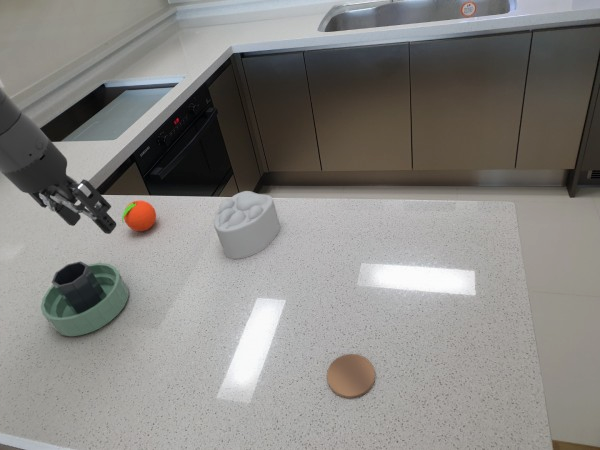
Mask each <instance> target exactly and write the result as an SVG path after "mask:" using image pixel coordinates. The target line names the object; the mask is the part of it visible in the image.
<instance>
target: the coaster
mask: <svg viewBox="0 0 600 450" xmlns="http://www.w3.org/2000/svg"><path fill="white" fill-rule="evenodd" d="M326 373H327V374H326V380H327V384H328V386H329V388H330V389H331V391H332V392H333V393H334V394H336V395H338V396H339V397H340V398H341V397H342V398H346V399H357V398H361V397H363V396H364V395H366V394H367V393H369V391H371V389H372V388H373V386H374V384H375V382H376V381H375V380H376V371H375V368H374V365H373V364H372V362H371V361H370V360H368V359H367V358H366V357H365V356H362V355H361V354H356V353H355V354H353V353H351V354H350V353H349V354H344V355H341V356H339V357H337V358H336V359H334V360H333V361H332V362H331V364H330V365H329V367H328V369H327V372H326Z"/></svg>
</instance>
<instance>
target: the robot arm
mask: <svg viewBox="0 0 600 450" xmlns="http://www.w3.org/2000/svg"><path fill="white" fill-rule="evenodd" d="M67 167H68V159H67V158H66V157H65V155H64V154H63V153H62V152H61V150H60V149H59V148H58V147H57V146H56V145H55V144H54V143H53V142H52V140H51V139H50V138H49V137H48V136H47V135H46V134H45V132H43V130H42V129H41V128H40V127H39V126H38V125H37V124H36V123H35V122H34V121H33V120H32V119H31V118H30V117H29V116H28V115H26V114H25V113H24V112H23V111H22V110H21V109H20V107H19V106H18V105H17V104H16V103H15V102H14V101H13V100H12V99H11V97H9V96H8V94H7V93H6V92H5V91H4V90H3V89H2V87H0V173H1V174H2V175H3V176H4V177H6V179H8V181H10V183H12V184H13V185H14V187H16V188H17V189H18V190H19V191H21V192H22V193H25V194H28V195H29V196H30V197H31V198H32V199H33V200H34V201H35V202H36V203H37V204H38V205H39V206H40V207H41V208H44V209H46V208H48V209H49V210H50V211H51V212H52V213H56V214H57V215H58V216H59V217H60V218H61V219H62V220H63V221H64V222H65V223H66V224H68V225H69V226H72V227H74V226H75V225H76V224H77V223H78V222H79V221H80V220H81V214H83V215H85V216H86V217H87V218H89V219H90V220H91V221H93V223H94V224H95V225H96V226H97V227H98V228H99V229H100V230H101V231H102V232H103V233H104V234H106V235H110V234H111V233H112V232H113V231H114V230H115V228H116V227H117V222H116V221H115V220H114V219H113V217H111V215H110V214H108V212H109V210H110V209H111V208H112V204H110V203H109V202H108V201H107V200H106V199H105V197H104V196H103V195H102V194H101V193H100V192H99V191H98V190H97V189H96V188H95V187H94V185H92V183H91V182H89V181H88V180H87V179H82V180H81V181H80V182H79V183H78V181H77V180H76V179H74V178H73V177H71V176H69V175H67ZM78 201H79V202H80V203H79V204H76V203H78Z"/></svg>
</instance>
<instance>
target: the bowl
mask: <svg viewBox="0 0 600 450" xmlns="http://www.w3.org/2000/svg"><path fill="white" fill-rule="evenodd" d="M87 265H88V266H89V268H90V270H91V271H92V273H93V274H94V276H95V278H96V279H97V281H98V282H99V284H100V285H101V287H102V289H103V290H104V292H105V293H106V295H107V296H106V297H105V298H104V299H103V300H102V301H100V302H99V303H98V304H97V305H95V306H94V307H92V308H90V309H88V310H87V311H85V312H83V313H80V314H77V315H76V314H75V313H73V312H72V310H71V309H70V307H69V306H68V305H67V303H66V302H65V300H64V299H63V298H62V296H61V295H60V293H59V292H58V291H57V289H56V288H55V286H54V285H53V284H51V286H50V287H49V288H48V289H47V290H46V292H45V294H44V295H43V297H42V299H41V304H40V309H41V313H42V315H43V316H44V317H45V319H46V320H47V322H48V323H49V324H50V325H51V326H52V328H53V329H54V330H55V331H56V332H57V333H59V334H60V335H61V336H65V337H79V336H84V335H86V334H89V333H93V332H95V331H97V330H98V329H101V328H102V327H104V326H106V325H107V324H109V323H110V322H111V321H112V320H113V319H115V318H116V317H117V316H118V315H119V314H120V313H121V312H122V310H123V309H124V308H125V306H126V304H127V302H128V299H129V287H128V285H127V284H126V282H125V280H124V279H123V277H122V275H121V274H120V272H119V270H118V269H117V266H114V265H112V264H110V263H106V262H97V263H95V262H94V263H89V264H87Z"/></svg>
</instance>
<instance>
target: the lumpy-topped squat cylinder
mask: <svg viewBox="0 0 600 450" xmlns="http://www.w3.org/2000/svg"><path fill="white" fill-rule="evenodd" d="M275 205H276V204H275V202H274V199H273V197H272V196H271V195H269V194H261V193H256V192H254V191H249V190H244V191H241V192H238V193H236V194H234V195H232V196H231V197H230V198H225V199H224V200H222V201H221V202H220V203H219V208H218V209H217V211H216V212H215V215H214V218H213V227H214V230H215V232H216V234H217V237H218V240H219V243H220V245H221V248H222V250H223V253H224V255H225V256H226V257H227V258H228V259H230V260H231V259H232V260H240V259H244V258H249V257H251V256H253V255H257V254H258V253H260V252H261V251H263V250H264V249H266V248H267V247H268V246H269V245H270V244H271V243H272V242H273V241H274V239H275V238H276V237H277V235H278V234H279V233H280V231H281V224H280V221H279V217H278V212H277V210H276V206H275Z"/></svg>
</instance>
